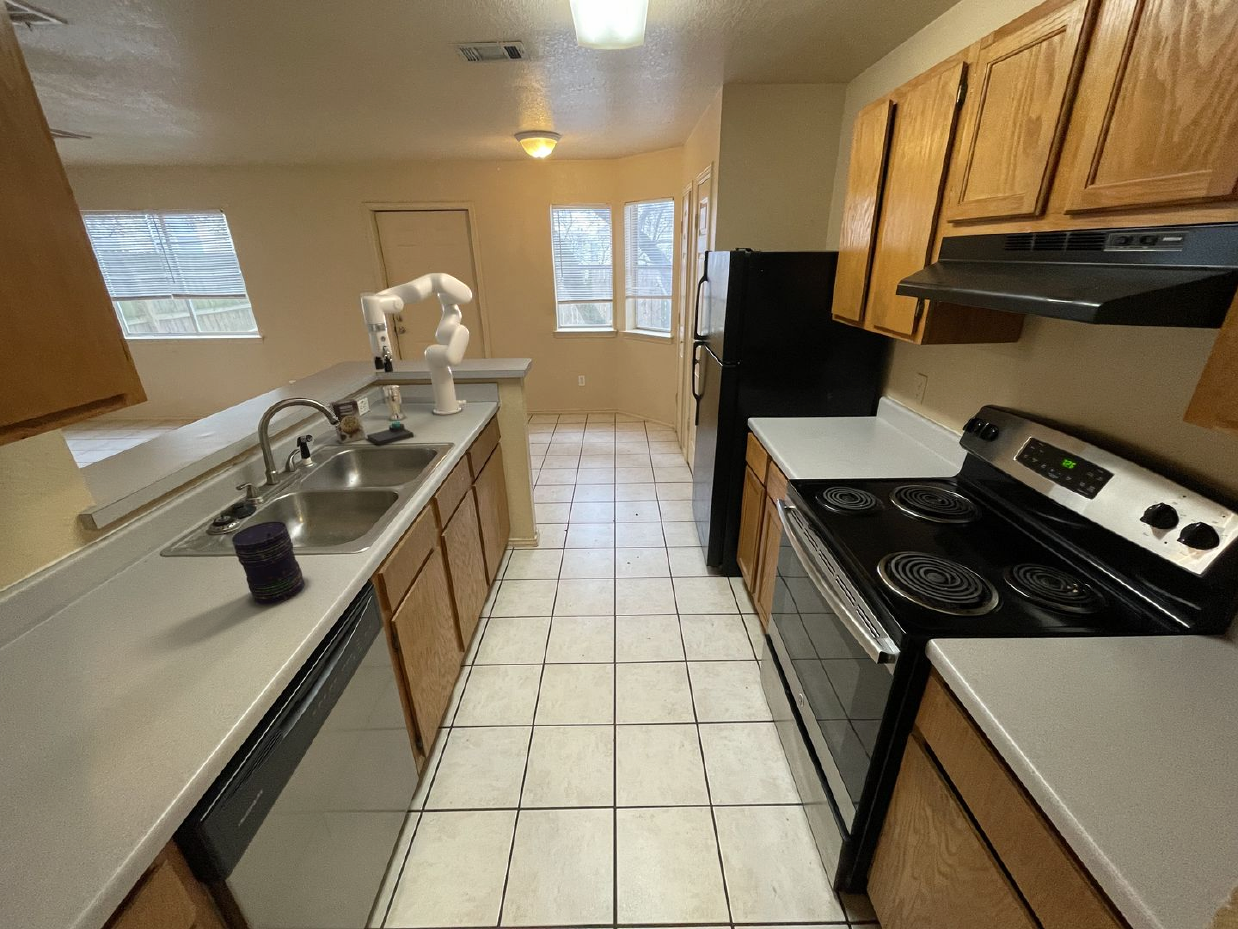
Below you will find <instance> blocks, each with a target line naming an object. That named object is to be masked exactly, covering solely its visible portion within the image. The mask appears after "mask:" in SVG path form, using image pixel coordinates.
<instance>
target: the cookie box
mask: <svg viewBox="0 0 1238 929" xmlns="http://www.w3.org/2000/svg"><path fill="white" fill-rule="evenodd" d="M329 407H330V412H331V411H332V412H333V413H334V414H335V415H336V417H338V420H339V422H340V424H339V425H338V426H335V425H334V428H335V432H336V436H337V437H336V438H337V440H338V441H339V442H340V443H341V444H347V443H351V442H356V441H360V440H365V439H366V435H365V431H364V426H363V421H362V418H361V413H360V409H359V408H360V407H359V404H358V401H357V400H356V399H354V398H349V399H343V400H336V401H332V402H329ZM332 412H331V413H332Z"/></svg>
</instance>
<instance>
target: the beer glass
mask: <svg viewBox="0 0 1238 929" xmlns="http://www.w3.org/2000/svg"><path fill="white" fill-rule="evenodd" d="M382 389H383V396H384V400H385V403H386V405H387V407H388V410H389V414H390V415H389V416H390V418H389V419H390V420H391V421H400V420H404V419H405V414H404V411H403V400H402V393H401V388H400V386H399V385H397V384H392V385H391V384H390V385H385V386H383V388H382Z"/></svg>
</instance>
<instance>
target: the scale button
mask: <svg viewBox="0 0 1238 929" xmlns="http://www.w3.org/2000/svg"><path fill="white" fill-rule="evenodd" d="M400 424H401V423H400V421H394V422H392V423H391V425H392V426H393V427H398V426H400Z"/></svg>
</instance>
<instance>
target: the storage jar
mask: <svg viewBox="0 0 1238 929" xmlns="http://www.w3.org/2000/svg"><path fill="white" fill-rule="evenodd" d="M231 542H232V545H233V547H234V550H235V555H236V557H237V558H238V562H239V563H240V565H241V566H242V568H243V570H244V573H245V575H246V577H245V578H246V583H247V585H248V589H249V591H250V593H251V595H252V597H253V601H254V602H255V603H256V604H257V605H260V606H270V605H276V604H280V603H283V602H285V601H288V600H290V599H292V598H294V597H296V596H297V595H298V594H300V593H301V592H302V591H303V590H304V588H305V586H306V583H305V579H304V577H303V572H302V571H303V570H302V568H301V567H300V564H299V561H298V560H297V558H296V556H295V553H294V544H293V542H292V538H291V535H290V534H289V530H288V528H287V525H286V523H285V522H283V521H277V520H276V521H275V520H274V521H264V522H259V523H256V524H253V525H250V526H248V527H245V528H243V529H241V530H240V531H238V532H237V533H235V534H233V536H232V538H231Z"/></svg>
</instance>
